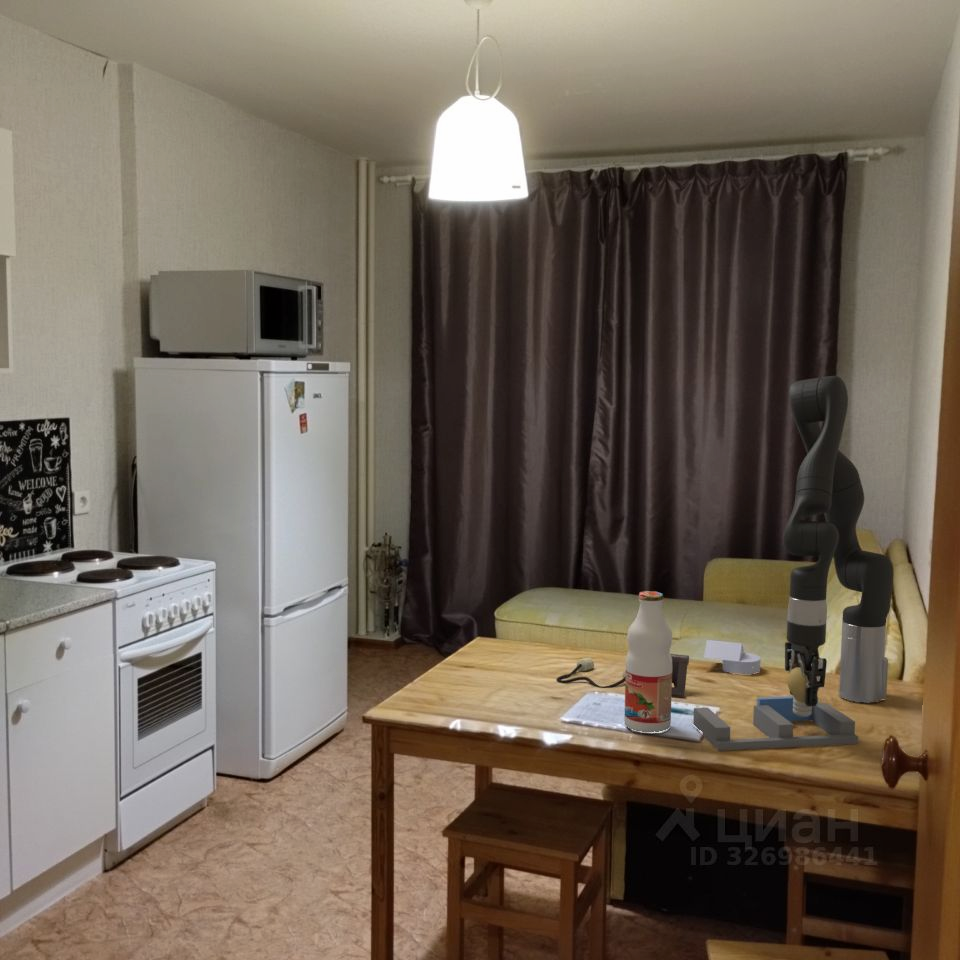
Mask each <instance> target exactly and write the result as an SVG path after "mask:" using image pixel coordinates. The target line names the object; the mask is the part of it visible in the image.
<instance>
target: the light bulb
mask: <svg viewBox="0 0 960 960" xmlns="http://www.w3.org/2000/svg"><path fill="white" fill-rule="evenodd" d="M808 672H811V670H810V671H808ZM809 678H810V679H811V676H809ZM786 681H787V682H786V683H787V686H788V687H787V688H788V690H789V692H790V691H791V693H792V694H793V695H792V696H794V699H793V713H794V714H795V715H797V716H801V717H808V716H810V715H811V714H812V706H807V705H806V704H805V692H806V683H805V678H804V677H803V676H802V674H801V668H800V667H796V668H794V669H793V670H792V671H791V672H790V673H789V672H788V675H787V678H786ZM819 681H820V677H819ZM820 688H821V687H819V688H818V691H819V690H820Z"/></svg>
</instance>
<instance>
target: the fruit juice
mask: <svg viewBox="0 0 960 960" xmlns="http://www.w3.org/2000/svg"><path fill="white" fill-rule="evenodd" d="M663 594H664V593H661V592H658V591H654V590H652V591H651V590H645V591H640V592H639V594H638V602H639V608H638V612H637V616H635V619H634V621H633V622H632V623H631V625H629V627H628V630H627V636H626V637H627V638H626V639H627V643H628V649H629V650H628V652H627V654H626V659H625V670H626V679H625V681H624V682H625V683H624V684H625V685H624V686H625V687H624V721H623V722H624V725H626V726H627V727H629V728H630V729H633V730H636V731H642V732H654V731H655V732H659V731H663V730H666V729H668V728H669V727H670V728H671V724H672V723H671V721H672V696H671V695H672V687H673V683H672V657H671V655H670V654H671V652H670V651H671V646H672V643H673V632H672V629H671V628H670V626H669V624H668V623H667V621H666V620H665V617H664V613H663V609H662V603H663V600H664V595H663ZM626 726H625V727H626ZM627 727H626V728H627ZM670 728H669V729H670Z"/></svg>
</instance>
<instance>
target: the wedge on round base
mask: <svg viewBox="0 0 960 960" xmlns="http://www.w3.org/2000/svg"><path fill="white" fill-rule="evenodd" d="M702 658H703V659H704V658H705V659H711V660H712V659H713V660H720V661H721V660H722V669H721V670H722V671H723V670H724V671H723V672H725V671H726V672H725V673H727V672H730V673H739V674H740V673H741V674H754V673H756V672H760V673H761V663H762V662H761V660H762V658H761V656H759V655H758V654H754V653H751V652H745V650H744V645H743V643H742V642H733V641H732V642H731V641H722V640H720V641H719V640H710V639H707V640H706V644H705V649H704V654H703V657H702ZM752 667H754V668H752ZM759 670H760V671H759ZM730 673H729V674H730Z"/></svg>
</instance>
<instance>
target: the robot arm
mask: <svg viewBox="0 0 960 960" xmlns="http://www.w3.org/2000/svg"><path fill="white" fill-rule="evenodd" d="M788 399H789V405H790V410H791V413H792V416H793V419H794V422H795V425H796V427H797V431H798V432H799V434H800V437H801V440H802V443H803V446H804V449H805V451H806V456H805V457H804V459H803V460H802V462H801V464H800V466H799V468H798V471H797V476H796V484H795V488H796V489H795V499H794V502H793V503H794V504H793V508H792V511H791V514H790V516H789V519H788V521H787V523H786V525H785V528H784V530H783V534H782V545H783V548H784V549H785V550H784V551H786V552H787V553H788V554H789V555H792V556H801V557H804V556H805V557H815V558H817V557H818V560H817V561H816V562H815V563H814V564H811V565H810V564H809V565H805V566H798V567H795V568H793V569H792V570H791V572H790V580H789V581H790V583H789V597H788V598H789V600H788V603H787V604H788V605H787V616H786V617H787V618H786V641H787V642H784V670H785V672H788V674H789V673H790V672H791V671H792V670H793V669H794V668H796V667H800V668H801V674H802V676H803V677H804V678H805V683H806V692H805V704H806V705H807V706H816V705H817V697H818V692H819V690H818V688H819V687H820V688H824V687H825V683H826V682H825V681H826V673H827V665H828V664H827V663H828V660H827V658H823V657H822V658H821V657H820V653H819V647H820V646H824V645H825V643H826V636H827V635H826V633H827V620H828V619H827V617H828V616H827V615H828V607H827V590H828V589H827V587H828V577H829V572H830V567H831V564H832V561H833V562H834V569H835V574H836V576H837V580H838V581H839V583H840V585H842V587H843V588H845V589H847V590H851V591H855V592H859V593H861V597H860V598H861V599H860V602H859V604H855V605H849V606H846V607H845V608H843V611H842V623H841V624H842V625H841V638H840V639H841V641H840V642H841V645H840V662H839V681H838V682H839V684H838V696H839V697H842V699H843V698H844V700H846V699H847V700H846V701H850V702H853V701H855V702H854V703H859V702H864V703H863V704H871V703H870V702H877V701H880V700H881V699H886V700H887V689H888V671H889V659H888V658H887V657H885V653H886V651H885V650H886V636H887V635H886V634H887V619H888V615H889V613H890V611H891V610H890V609H891V601H892V595H893V594H892V593H893V584H894V567H893V566H894V565H893V563H892V560H891V559H890V558H889V557H888V556H887V555H885V554H882V553H878V552H872V551H869V550H868V551H867V550H863V548H861V545H860V542H859V538H858V535H857V524H858V521H859V519H860V516H861V513H862V511H863V507H864V504H865V492H864V489H863V485H862V481H861V477H860V474H859V471H858V469H857V468H856V466H855V464H854V463H853V462H852V461H851V459H849V458H848V457H847V456H846V454H844V453H843V452H842V451H840V450H839V448H840V444H841V440H842V436H843V433H844V426H845V423H846V419H847V418H846V417H847V412H848V407H849V406H848V405H849V403H848V402H849V395H848V389H847V386H846V384H845V381H844V380H843V379H842V378H841V377H840V376H838V375H829V376H827V375H826V376H821V377H814V378H807V379H802V380H797V381H794V382H793V383H792V384H791V385H790V386H789V391H788ZM820 422H824V424H823V426H822V428H821V425H820ZM817 515H824V518H825V521H817V520H816V521H815V520H814V521H813V520H806V519H807V518H809V517H812V516H817ZM810 670H811V672H808V671H810ZM809 676H811V679H810V678H809ZM819 678H820V681H819ZM820 688H819V689H820ZM789 694H790V695H791V696H793V694H792V693H791V691H790V690H789ZM865 702H866V703H865ZM880 702H881V701H880ZM877 703H878V702H877Z"/></svg>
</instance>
